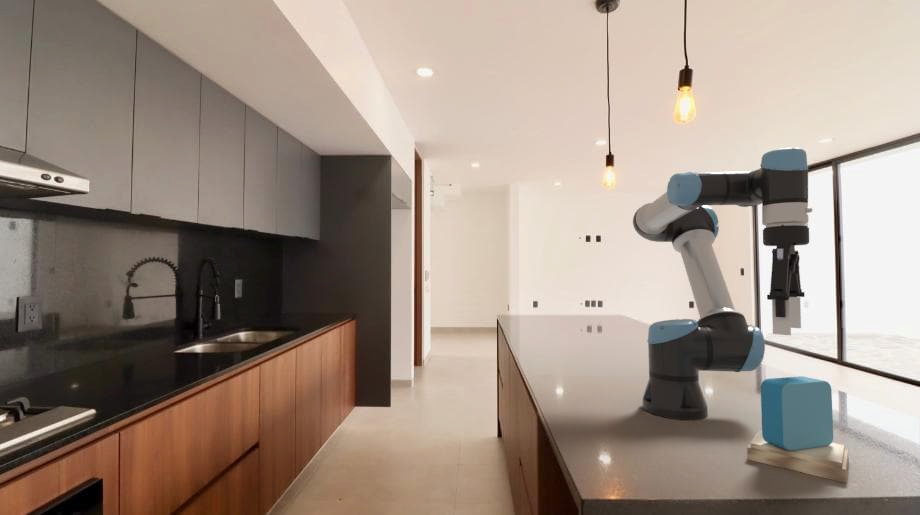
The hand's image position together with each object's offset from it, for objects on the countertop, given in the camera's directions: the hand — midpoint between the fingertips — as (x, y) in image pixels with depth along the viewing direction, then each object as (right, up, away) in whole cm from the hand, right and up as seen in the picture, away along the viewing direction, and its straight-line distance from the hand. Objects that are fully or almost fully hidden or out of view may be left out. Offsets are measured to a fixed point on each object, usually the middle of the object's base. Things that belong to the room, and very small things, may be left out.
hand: (787, 331), depth 87 cm
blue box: (-3, -21, -6) cm, 22 cm away
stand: (-3, -23, -6) cm, 24 cm away
